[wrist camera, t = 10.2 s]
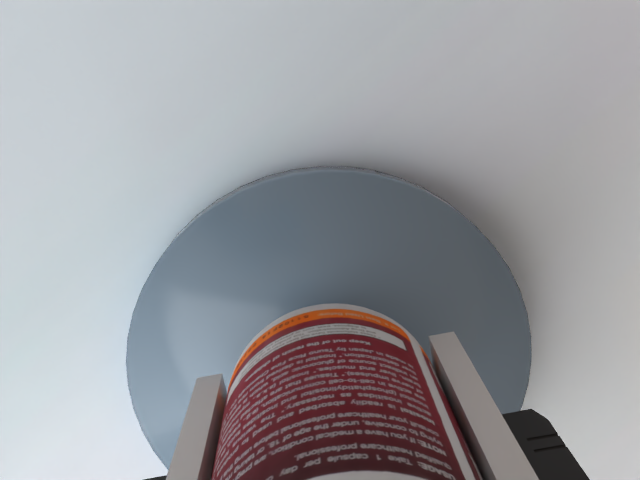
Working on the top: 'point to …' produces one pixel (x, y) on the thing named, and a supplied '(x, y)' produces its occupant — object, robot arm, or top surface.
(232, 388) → the pill bottle
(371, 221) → the dish
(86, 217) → the top surface
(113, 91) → the top surface
